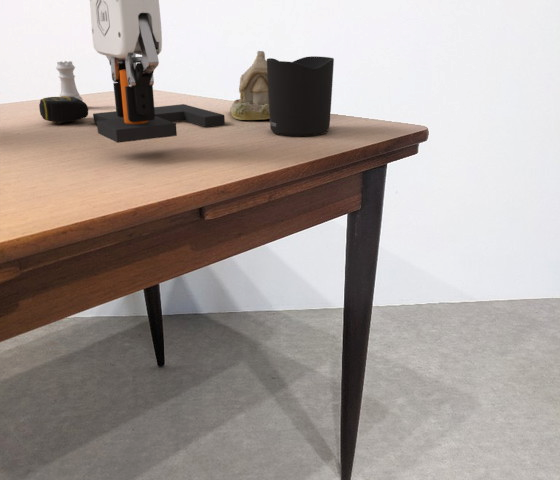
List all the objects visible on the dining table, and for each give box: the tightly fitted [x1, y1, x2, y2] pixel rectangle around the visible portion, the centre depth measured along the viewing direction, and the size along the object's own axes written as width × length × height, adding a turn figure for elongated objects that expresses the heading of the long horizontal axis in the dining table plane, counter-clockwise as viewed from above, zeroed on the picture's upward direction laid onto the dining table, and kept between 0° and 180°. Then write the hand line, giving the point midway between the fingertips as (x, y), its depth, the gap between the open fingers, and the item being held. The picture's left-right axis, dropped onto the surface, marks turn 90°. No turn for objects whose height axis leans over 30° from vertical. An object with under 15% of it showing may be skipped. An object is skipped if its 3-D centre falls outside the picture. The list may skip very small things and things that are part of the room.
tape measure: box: [38, 96, 89, 125], centre depth 97 cm, size 7×7×4 cm
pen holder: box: [266, 55, 335, 137], centre depth 87 cm, size 9×9×10 cm
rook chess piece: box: [55, 60, 84, 102], centre depth 109 cm, size 4×4×8 cm
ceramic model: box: [229, 50, 270, 121], centre depth 101 cm, size 14×11×10 cm
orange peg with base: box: [96, 69, 178, 144], centre depth 73 cm, size 8×6×8 cm
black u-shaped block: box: [92, 103, 226, 128], centre depth 95 cm, size 16×14×2 cm
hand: (135, 116), depth 73 cm, fingers closed on orange peg with base, 2 cm apart
